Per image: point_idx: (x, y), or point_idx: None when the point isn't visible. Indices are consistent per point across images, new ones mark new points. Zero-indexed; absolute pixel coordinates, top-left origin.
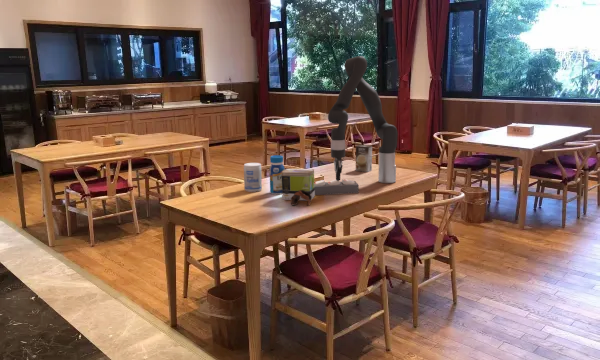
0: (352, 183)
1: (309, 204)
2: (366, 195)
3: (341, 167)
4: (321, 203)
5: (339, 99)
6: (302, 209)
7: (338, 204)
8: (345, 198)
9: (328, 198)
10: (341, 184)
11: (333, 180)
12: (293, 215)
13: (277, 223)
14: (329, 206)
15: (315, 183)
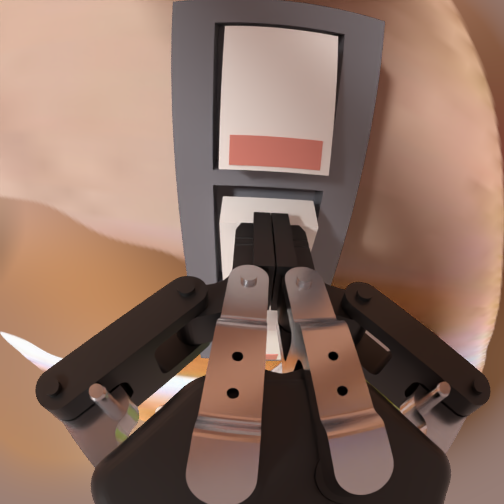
0: (331, 64)
1: (436, 335)
2: (433, 15)
3: (465, 373)
4: (442, 299)
5: None
6: (450, 344)
7: (493, 244)
8: (445, 179)
9: (397, 264)
10: (313, 185)
11: (231, 259)
12: (468, 355)
13: (478, 368)
14: (486, 279)
15: (272, 356)
